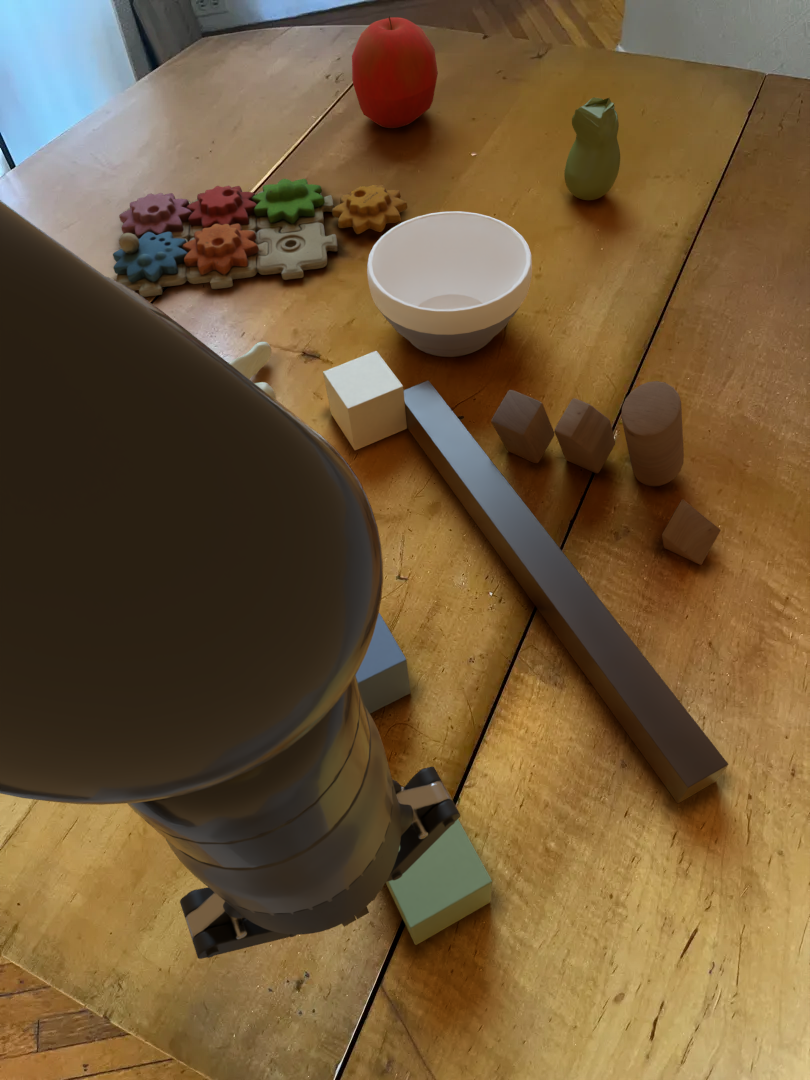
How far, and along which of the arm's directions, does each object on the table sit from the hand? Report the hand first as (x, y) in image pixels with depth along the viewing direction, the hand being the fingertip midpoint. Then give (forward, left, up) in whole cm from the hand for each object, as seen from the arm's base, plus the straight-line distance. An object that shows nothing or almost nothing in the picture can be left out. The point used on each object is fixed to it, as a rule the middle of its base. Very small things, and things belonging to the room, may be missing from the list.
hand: (349, 900), depth 43 cm
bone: (+6, +43, -6) cm, 44 cm away
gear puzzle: (+20, +66, -6) cm, 69 cm away
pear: (+53, +54, -6) cm, 76 cm away
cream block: (+18, +36, -6) cm, 41 cm away
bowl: (+30, +43, -6) cm, 53 cm away
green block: (+5, 0, -6) cm, 8 cm away
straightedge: (+22, +16, -6) cm, 28 cm away
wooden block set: (+32, +20, -6) cm, 38 cm away
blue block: (+7, +14, -6) cm, 17 cm away
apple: (+43, +80, -6) cm, 91 cm away
